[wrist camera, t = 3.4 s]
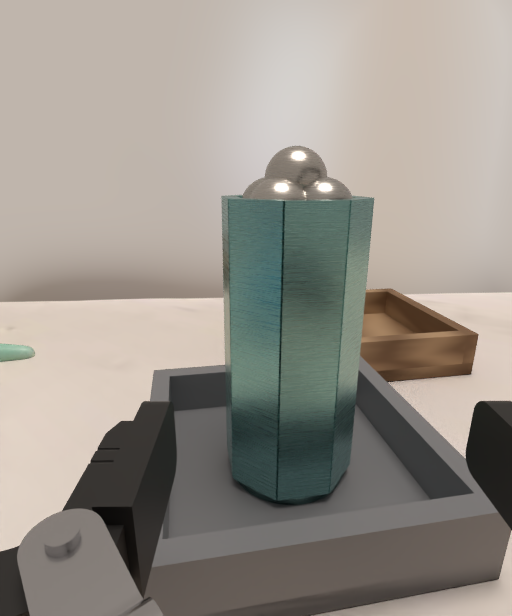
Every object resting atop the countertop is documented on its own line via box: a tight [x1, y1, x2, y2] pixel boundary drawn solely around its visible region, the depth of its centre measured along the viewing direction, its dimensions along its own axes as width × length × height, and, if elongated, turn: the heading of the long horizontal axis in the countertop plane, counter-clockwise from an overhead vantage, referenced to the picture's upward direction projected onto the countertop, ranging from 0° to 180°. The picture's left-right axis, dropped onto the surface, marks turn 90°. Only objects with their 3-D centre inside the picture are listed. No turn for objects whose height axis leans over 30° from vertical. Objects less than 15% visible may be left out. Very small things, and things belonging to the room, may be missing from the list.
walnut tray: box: [360, 289, 478, 382], centre depth 38 cm, size 14×14×4 cm
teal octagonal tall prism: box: [222, 146, 374, 505], centre depth 19 cm, size 6×6×16 cm
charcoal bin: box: [144, 356, 511, 616], centre depth 21 cm, size 14×14×4 cm
